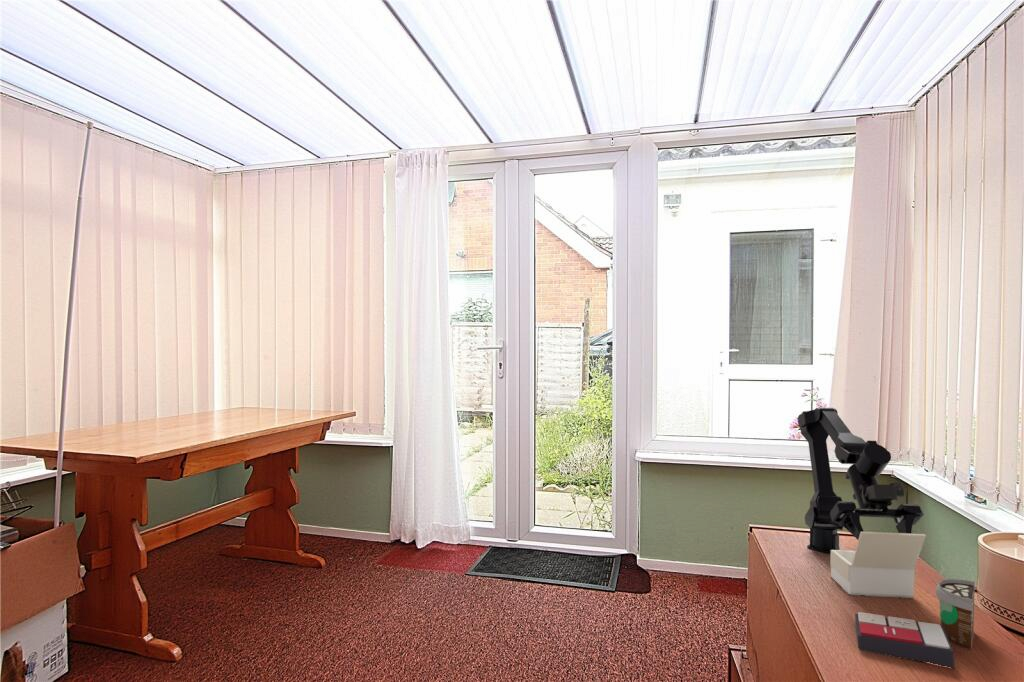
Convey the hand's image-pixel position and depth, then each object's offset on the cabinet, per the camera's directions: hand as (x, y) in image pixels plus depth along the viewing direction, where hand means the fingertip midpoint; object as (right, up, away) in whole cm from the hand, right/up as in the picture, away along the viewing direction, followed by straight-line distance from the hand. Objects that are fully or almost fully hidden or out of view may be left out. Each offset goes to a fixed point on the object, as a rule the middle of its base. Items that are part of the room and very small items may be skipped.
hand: (888, 547), depth 138 cm
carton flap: (0, -1, 0) cm, 1 cm away
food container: (+3, -12, -16) cm, 20 cm away
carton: (0, -12, +7) cm, 14 cm away
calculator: (-10, -13, -20) cm, 26 cm away
